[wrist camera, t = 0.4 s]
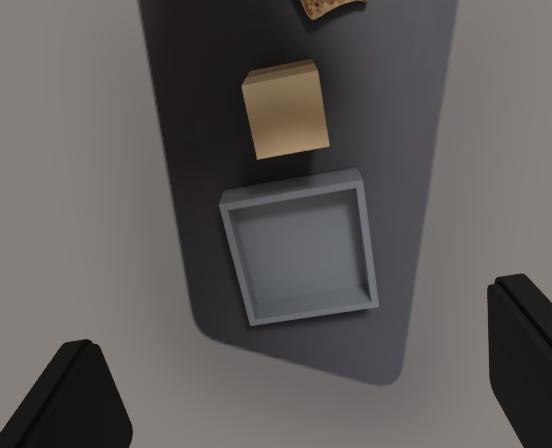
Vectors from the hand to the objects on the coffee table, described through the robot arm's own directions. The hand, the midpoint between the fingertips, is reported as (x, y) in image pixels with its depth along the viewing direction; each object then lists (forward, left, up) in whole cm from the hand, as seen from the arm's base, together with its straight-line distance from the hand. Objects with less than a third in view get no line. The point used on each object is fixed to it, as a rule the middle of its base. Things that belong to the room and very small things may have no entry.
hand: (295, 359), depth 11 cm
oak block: (-1, 0, -31) cm, 31 cm away
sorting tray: (+12, -1, -31) cm, 33 cm away
